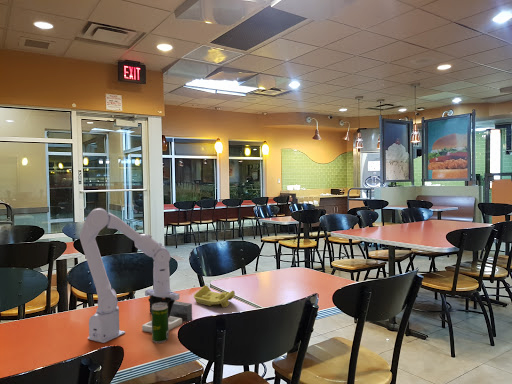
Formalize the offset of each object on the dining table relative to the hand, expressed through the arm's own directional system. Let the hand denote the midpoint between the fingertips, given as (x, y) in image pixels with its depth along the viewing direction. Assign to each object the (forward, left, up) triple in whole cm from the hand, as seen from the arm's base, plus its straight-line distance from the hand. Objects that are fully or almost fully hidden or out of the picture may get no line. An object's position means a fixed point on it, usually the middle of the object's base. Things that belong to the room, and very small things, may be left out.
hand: (162, 317), depth 140 cm
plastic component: (+30, -3, -4) cm, 31 cm away
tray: (0, 0, -4) cm, 4 cm away
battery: (+12, +12, -4) cm, 17 cm away
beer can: (-9, -7, -4) cm, 12 cm away
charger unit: (+9, 0, -4) cm, 10 cm away
